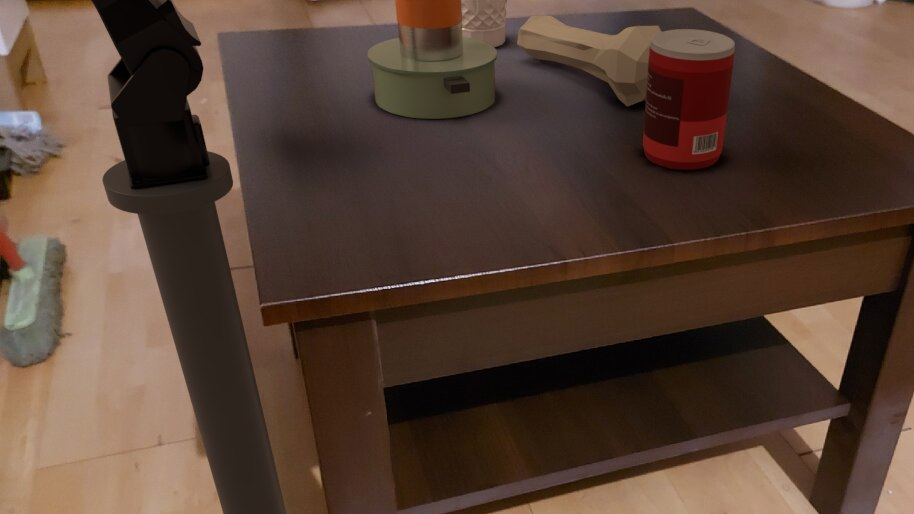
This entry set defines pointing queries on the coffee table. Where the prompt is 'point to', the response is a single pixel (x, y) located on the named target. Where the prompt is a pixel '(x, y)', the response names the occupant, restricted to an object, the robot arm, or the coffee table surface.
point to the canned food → (687, 97)
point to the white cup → (484, 20)
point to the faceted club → (594, 52)
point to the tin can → (430, 29)
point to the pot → (434, 81)
